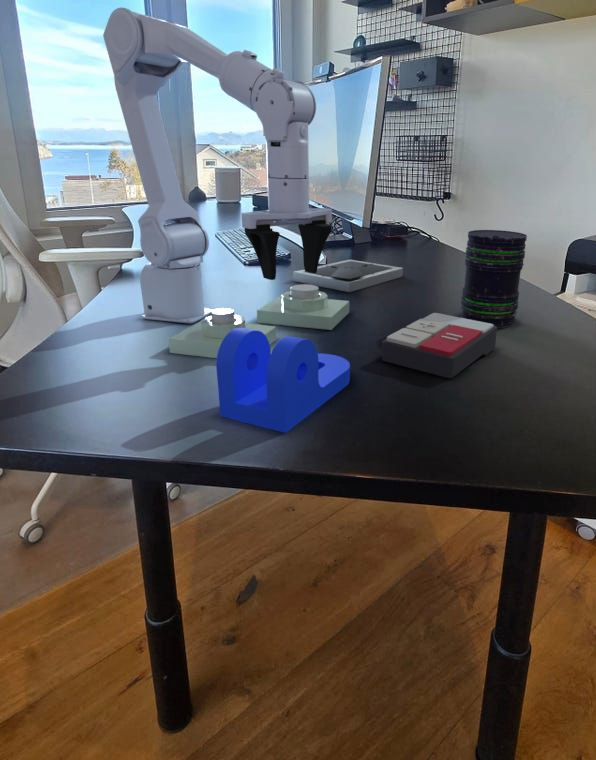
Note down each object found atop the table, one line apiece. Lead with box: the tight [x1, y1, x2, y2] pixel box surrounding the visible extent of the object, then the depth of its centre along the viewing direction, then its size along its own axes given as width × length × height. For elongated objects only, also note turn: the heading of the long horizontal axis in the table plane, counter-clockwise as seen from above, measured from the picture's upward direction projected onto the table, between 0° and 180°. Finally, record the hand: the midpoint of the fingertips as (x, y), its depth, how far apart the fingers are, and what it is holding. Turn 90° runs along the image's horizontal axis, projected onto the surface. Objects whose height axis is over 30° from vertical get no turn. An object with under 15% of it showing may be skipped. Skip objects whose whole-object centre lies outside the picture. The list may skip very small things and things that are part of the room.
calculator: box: [381, 312, 498, 379], centre depth 79 cm, size 11×4×15 cm
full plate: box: [256, 290, 350, 331], centre depth 95 cm, size 13×11×4 cm
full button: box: [289, 283, 320, 299], centre depth 94 cm, size 5×5×2 cm
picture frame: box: [292, 259, 404, 293], centre depth 125 cm, size 16×3×21 cm
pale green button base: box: [167, 314, 277, 359], centre depth 80 cm, size 12×10×4 cm
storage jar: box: [459, 229, 528, 329], centre depth 94 cm, size 10×10×15 cm
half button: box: [210, 307, 235, 324], centre depth 79 cm, size 3×3×2 cm
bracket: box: [215, 328, 351, 434], centre depth 64 cm, size 18×8×9 cm, turn 155°
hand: (290, 275), depth 81 cm, fingers open, 7 cm apart
